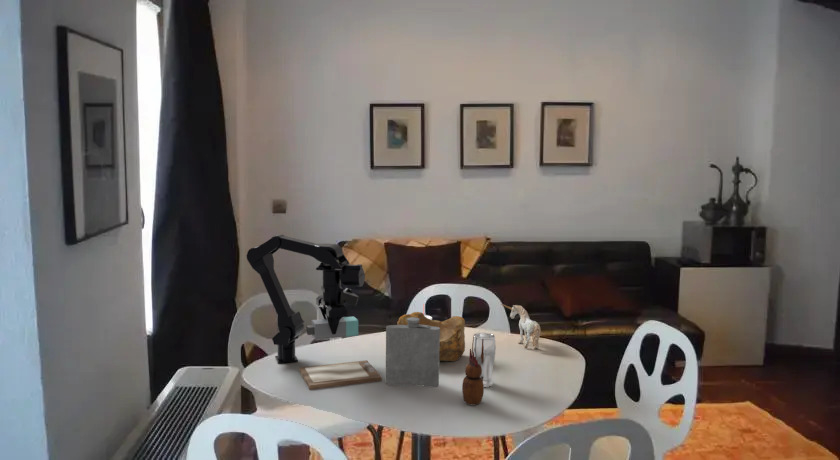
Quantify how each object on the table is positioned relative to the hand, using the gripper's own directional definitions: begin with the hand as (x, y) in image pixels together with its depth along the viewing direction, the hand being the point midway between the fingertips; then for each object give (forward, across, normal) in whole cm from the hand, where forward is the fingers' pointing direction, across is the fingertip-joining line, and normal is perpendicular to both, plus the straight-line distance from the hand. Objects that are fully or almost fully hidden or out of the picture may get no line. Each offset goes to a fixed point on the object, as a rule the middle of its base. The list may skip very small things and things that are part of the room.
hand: (331, 331), depth 212 cm
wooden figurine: (+11, -43, -29) cm, 53 cm away
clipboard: (+11, -11, 0) cm, 15 cm away
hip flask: (+11, -24, -18) cm, 32 cm away
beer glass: (+11, -31, -38) cm, 51 cm away
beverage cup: (+11, +14, -37) cm, 41 cm away
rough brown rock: (+11, -6, -32) cm, 34 cm away
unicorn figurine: (+11, -2, -68) cm, 69 cm away
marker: (+1, 0, -1) cm, 2 cm away
